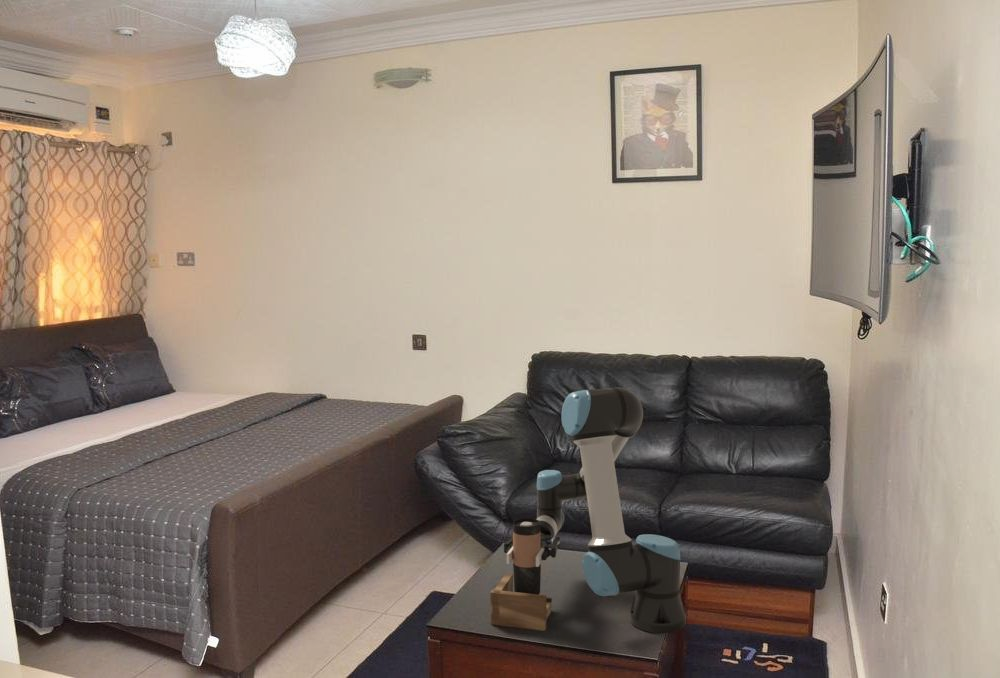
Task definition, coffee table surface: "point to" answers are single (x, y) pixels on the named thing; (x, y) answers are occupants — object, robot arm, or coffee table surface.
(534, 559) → the travel mug
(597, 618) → the coffee table surface
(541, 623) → the wooden holder
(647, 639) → the coffee table surface
